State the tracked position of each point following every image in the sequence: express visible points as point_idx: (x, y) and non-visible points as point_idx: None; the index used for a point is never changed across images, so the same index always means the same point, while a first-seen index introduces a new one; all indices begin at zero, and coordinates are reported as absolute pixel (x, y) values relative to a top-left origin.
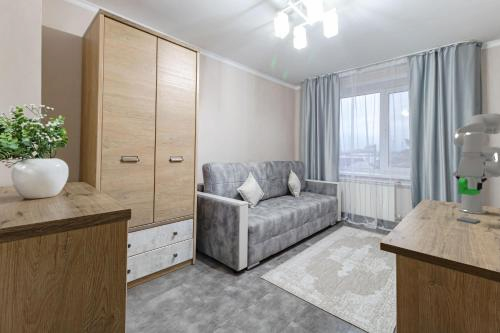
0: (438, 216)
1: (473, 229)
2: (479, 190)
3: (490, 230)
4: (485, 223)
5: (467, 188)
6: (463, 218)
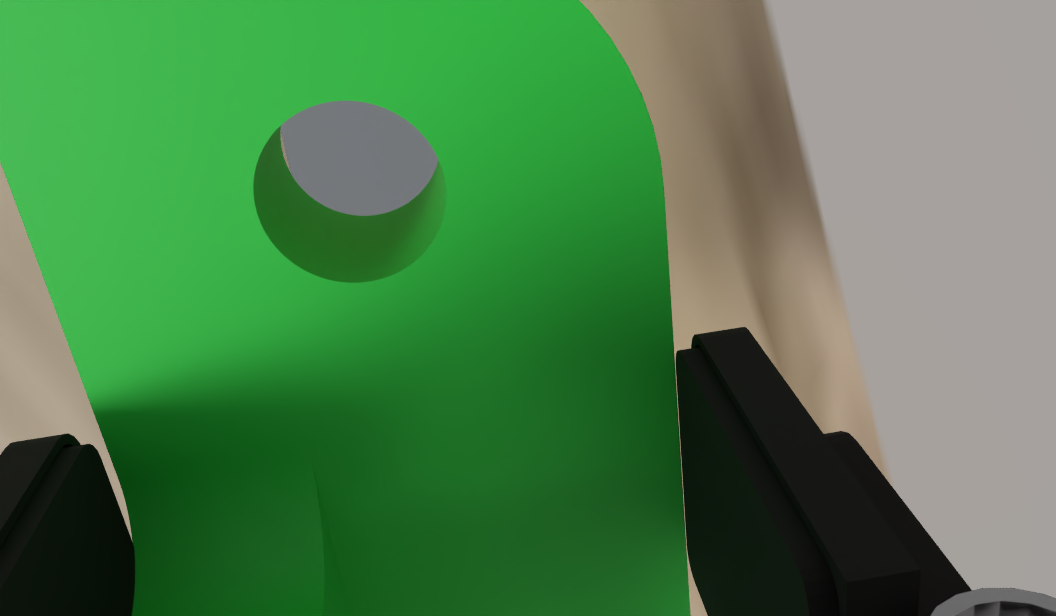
0: (24, 316)
1: (686, 539)
2: (664, 269)
3: (814, 390)
4: (631, 19)
5: (329, 573)
6: (341, 149)
